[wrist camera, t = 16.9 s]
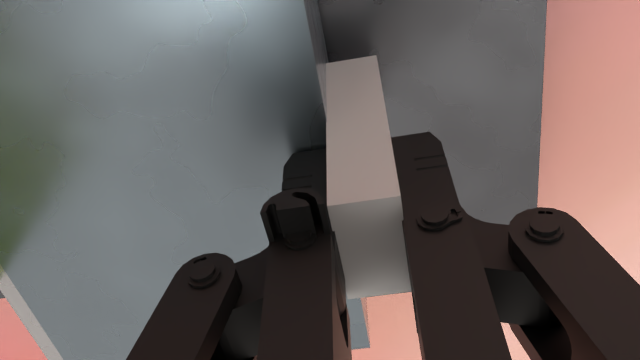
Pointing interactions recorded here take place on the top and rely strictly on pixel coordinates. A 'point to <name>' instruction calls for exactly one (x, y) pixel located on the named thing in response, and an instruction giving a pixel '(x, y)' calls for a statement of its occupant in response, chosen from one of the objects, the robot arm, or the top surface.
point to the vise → (457, 86)
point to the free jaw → (144, 152)
